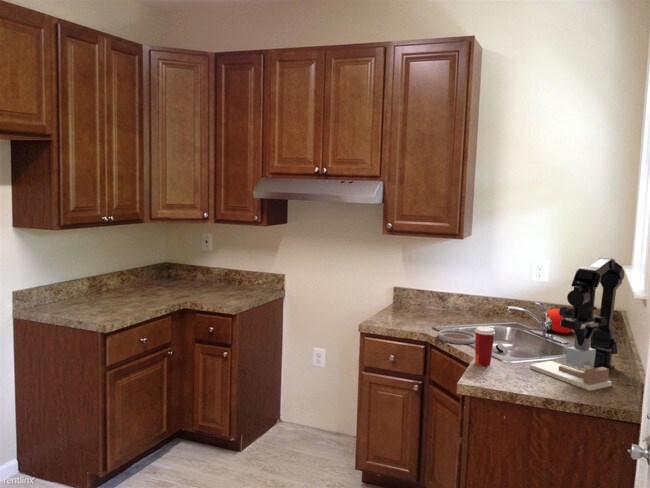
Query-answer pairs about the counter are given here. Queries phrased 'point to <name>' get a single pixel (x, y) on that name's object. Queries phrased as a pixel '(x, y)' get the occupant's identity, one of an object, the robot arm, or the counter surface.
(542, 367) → the mounting board
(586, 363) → the cabinet block
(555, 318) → the red bell pepper
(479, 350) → the paper cup
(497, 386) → the counter surface
